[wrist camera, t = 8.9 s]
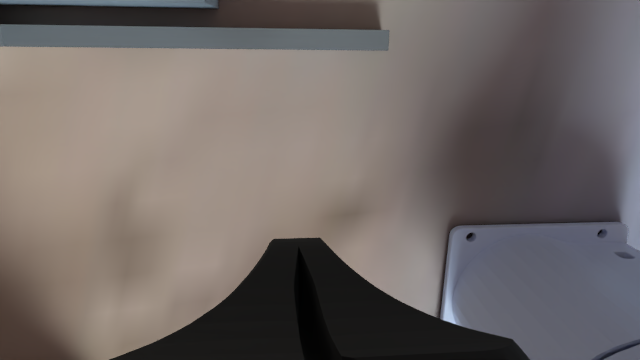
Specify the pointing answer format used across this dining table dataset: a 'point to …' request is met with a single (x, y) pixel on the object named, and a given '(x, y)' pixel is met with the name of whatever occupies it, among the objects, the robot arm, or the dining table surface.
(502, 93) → the dining table surface
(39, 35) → the track
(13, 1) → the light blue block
